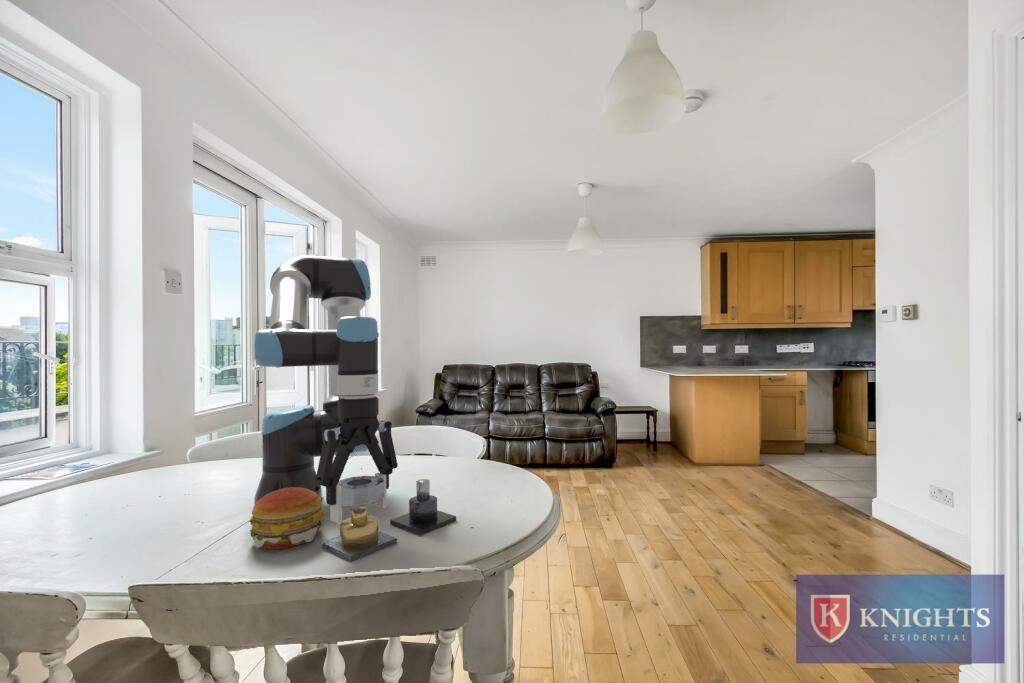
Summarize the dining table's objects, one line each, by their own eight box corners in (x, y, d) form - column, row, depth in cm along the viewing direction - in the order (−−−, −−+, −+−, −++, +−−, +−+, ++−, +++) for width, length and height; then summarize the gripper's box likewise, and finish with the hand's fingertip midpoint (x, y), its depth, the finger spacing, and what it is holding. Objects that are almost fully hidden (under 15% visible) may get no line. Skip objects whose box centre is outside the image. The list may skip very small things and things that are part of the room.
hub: (321, 547, 88) (321, 510, 88) (367, 530, 95) (366, 496, 96) (350, 562, 81) (350, 522, 82) (397, 543, 89) (396, 506, 89)
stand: (390, 524, 99) (389, 482, 99) (425, 511, 107) (425, 472, 107) (420, 535, 92) (420, 491, 93) (456, 520, 100) (455, 479, 100)
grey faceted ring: (325, 499, 88) (325, 483, 88) (366, 488, 95) (366, 473, 95) (351, 509, 82) (351, 492, 82) (393, 496, 89) (393, 480, 89)
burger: (297, 522, 101) (297, 476, 101) (339, 534, 94) (338, 485, 94) (235, 545, 89) (234, 493, 89) (277, 561, 82) (276, 505, 83)
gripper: (314, 403, 78) (315, 536, 78) (415, 392, 95) (416, 502, 95) (293, 400, 83) (293, 526, 82) (392, 391, 100) (394, 495, 99)
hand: (359, 513), depth 88 cm, fingers closed on grey faceted ring, 9 cm apart
